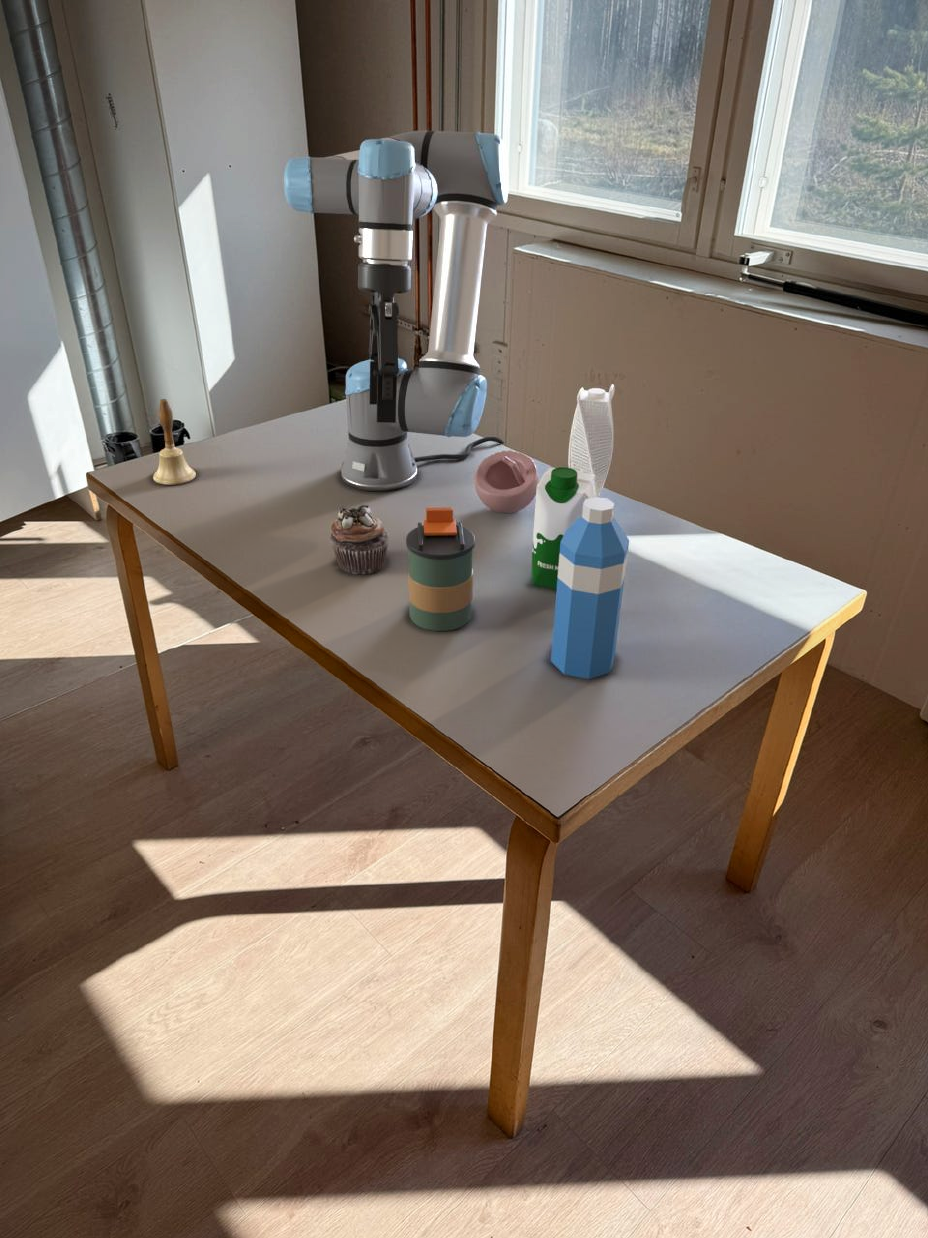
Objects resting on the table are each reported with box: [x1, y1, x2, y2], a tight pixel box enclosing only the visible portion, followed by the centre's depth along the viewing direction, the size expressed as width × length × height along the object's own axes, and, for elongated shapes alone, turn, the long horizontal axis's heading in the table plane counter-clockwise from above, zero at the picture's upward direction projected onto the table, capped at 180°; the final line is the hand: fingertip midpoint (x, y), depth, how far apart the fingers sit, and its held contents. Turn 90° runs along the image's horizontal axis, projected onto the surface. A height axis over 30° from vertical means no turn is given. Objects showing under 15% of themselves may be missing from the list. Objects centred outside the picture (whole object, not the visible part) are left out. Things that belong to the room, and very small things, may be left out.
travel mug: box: [407, 548, 474, 632], centre depth 140 cm, size 10×10×12 cm
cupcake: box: [330, 504, 390, 575], centre depth 154 cm, size 10×10×10 cm
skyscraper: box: [567, 383, 615, 497], centre depth 160 cm, size 8×8×28 cm
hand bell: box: [152, 398, 197, 486], centre depth 181 cm, size 8×8×16 cm
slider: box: [423, 507, 457, 536], centre depth 137 cm, size 4×5×2 cm
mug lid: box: [405, 521, 476, 560], centre depth 136 cm, size 10×10×2 cm
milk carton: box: [531, 466, 595, 590], centre depth 148 cm, size 9×9×20 cm
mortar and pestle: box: [474, 449, 540, 514], centre depth 172 cm, size 12×12×11 cm
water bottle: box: [550, 496, 630, 680], centre depth 127 cm, size 9×9×25 cm
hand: (382, 412), depth 139 cm, fingers open, 13 cm apart
